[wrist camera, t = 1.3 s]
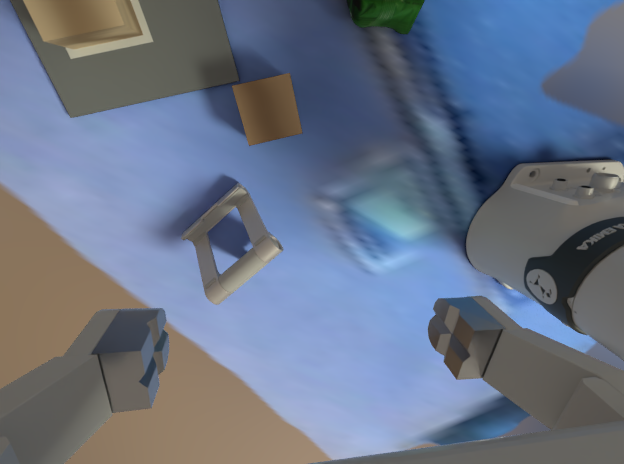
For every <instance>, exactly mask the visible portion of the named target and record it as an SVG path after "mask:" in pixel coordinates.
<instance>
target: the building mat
mask: <svg viewBox="0 0 624 464" xmlns="http://www.w3.org/2000/svg"><path fill="white" fill-rule="evenodd" d="M10 1H11V3H12V5H13V7H14V9H15V11H16V13H17V15H18V17H19V18H20V20H21V22H22V24H23V26H24V28H25V30H26V32H27V34H28V36H29V38H30V40H31V42H32V44H33V46H34V48H35V50H36V51H37V53H38V55H39V57H40V59H41V61H42V63H43V65H44V67H45V69H46V71H47V73H48V75H49V77H50V79H51V81H52V83H53V84H54V86H55V88H56V90H57V92H58V94H59V96H60V98H61V100H62V102H63V104H64V106H65V108H66V110H67V112H68V114H69V116H70V117H71V118H73V117H78V116H83V115H87V114H92V113H96V112H101V111H105V110H110V109H114V108H119V107H124V106H128V105H133V104H137V103H142V102H146V101H151V100H155V99H160V98H164V97H169V96H173V95H178V94H183V93H187V92H192V91H196V90H201V89H205V88H210V87H214V86H219V85H223V84H228V83H233V82H237V81H240V80H239V77H238V73H237V69H236V66H235V62H234V58H233V55H232V51H231V47H230V44H229V40H228V36H227V33H226V29H225V25H224V22H223V18H222V14H221V11H220V7H219V4H218V0H130V1H131V3H132V6H133V9H134V11H135V14H136V17H137V19H138V22H139V25H140V27H141V30H142V33H143V35H141V36H137V37H132V38H127V39H122V40H117V41H112V42H108V43H103V44H98V45H93V46H88V47H84V48H79V49H70V48H66V47H62V46H59V45H55V44H51V43H47V42H44V41H43V39H42V37H41V35H40V33H39V31H38V29H37V27H36V25H35V23H34V21H33V19H32V17H31V15H30V13H29V11H28V9H27V7H26V5H25V3H24V1H23V0H10Z"/></svg>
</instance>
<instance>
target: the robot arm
mask: <svg viewBox="0 0 624 464" xmlns="http://www.w3.org/2000/svg"><path fill="white" fill-rule="evenodd" d="M530 173H531V174H530ZM466 250H467V255H468V258H469V260H470V262H471V264H472V265H473V266H474V267H475V268H476V269H477V270H478V271H480V272H482V273H484V274H486V275H489V276H491V277H493V278H495V279H497V280H498V281H499V283H500V284H501V285H503V286H504V287H506V288H508V289H515V290H516V291H518V292H520V293H521V294H523V295H525V296H526V297H528V298H530V299H531V300H533V301H535V302H536V303H538V304H540V305H542V306H543V307H544V308H545V309H546V310H547V311H548V312H549V313H551V314H552V315H553V316H555V317H556V318H558V319H559V320H560V321H561V322H562V323H563V324H565V325H566V326H568V327H570V328H572V329H573V330H575V331H577V332H578V333H581V334H584V335H589V336H590V337H592V338H593V339H594V340H596V341H597V342H598V343H600V344H601V345H603V346H604V347H605V348H607V349H608V350H609V351H611V352H612V353H614V354H615V355H616V356H618V357H619V358H620V359H622V360H623V361H624V167H623V165H622V163H621V162H618V161H615V160H591V161H568V162H544V163H523V164H519V165H517V166H516V167H515V168H514V169H513V170H512V171H511V173H510V174H509V176H508V177H507V179H506V181H505V182H504V184H503V186H502V187H501V188H500V189H499V190H498V191H497V192H496V193H495V194H493V195H492V196H491V197H490V198H489V199H488V200H487V201H486V202H485V203H484V204H483V205H482V207H481V208H480V209H479V211H478V212H477V213H476V215H475V217H474V219H473V220H472V223H471V225H470V227H469V230H468V234H467V240H466ZM433 310H434V312H435V314H436V315H435V316H434V317H433V318H432V319H431V320H430V322H429V326H428V336H429V340H430V342H431V344H432V346H433V347H434V349H435V350H436V351H437V352H439V353H441V354H442V355H444V363H445V364H446V366H447V367H448V368H449V370H450V371H451V372H452V374H453V375H454V377H455V378H456V379H457V380H460V379H476V378H483V380H484V381H485V382H487V383H488V384H489V385H491V386H492V387H493V388H495V389H496V390H498V391H499V392H500V393H502V394H503V395H504V396H506V397H507V398H508V399H510V400H511V401H513V402H514V403H515V404H517V405H518V406H519V407H521V408H522V409H523V410H525V411H526V412H528V413H529V414H530V415H532V416H533V417H534V418H536V419H537V420H539V421H540V422H541V423H543V424H544V425H545V426H547V427H548V428H550V429H551V430H549V431H542V432H535V433H528V434H520V435H513V436H506V437H499V438H491V439H484V440H477V441H470V442H463V443H456V444H449V445H441V446H434V447H427V448H420V449H412V450H405V451H398V452H391V453H383V454H376V455H369V456H361V457H354V458H347V459H339V460H332V461H325V462H318V463H310V464H624V371H623V370H620V369H618V368H616V367H614V366H611V365H609V364H607V363H605V362H602V361H600V360H598V359H596V358H593V357H591V356H589V355H586V354H584V353H582V352H580V351H577V350H575V349H573V348H571V347H568V346H566V345H564V344H562V343H559V342H557V341H555V340H552V339H550V338H548V337H546V336H543V335H541V334H539V333H537V332H534V331H532V330H530V329H528V328H524V329H523V328H522V327H520V326H519V325H518V324H517V323H516V322H515V321H513V320H512V319H511V318H510V317H509V316H507V315H506V314H505V313H504V312H503V311H502V310H500V309H499V308H498V307H497V306H496V305H495V304H493V303H492V302H491V301H490V300H489V299H487V298H486V297H483V296H470V297H462V298H438V300H437V301H436V302H435V305H434V308H433ZM165 323H166V315H165V310H164V309H163V308H146V309H105V310H100V311H98V312H96V313H95V315H94V316H93V317H92V319H91V320H90V321H89V323H88V324H87V325H86V326H85V328H84V329H83V331H82V332H81V333H80V334H79V336H78V337H77V338H76V340H75V341H74V343H73V344H72V345H71V346H70V348H69V349H68V350H67V352H66V353H65V354H64V356H63V357H55V358H53V359H51V360H49V361H48V362H46V363H45V364H42V365H41V366H39V367H37V368H36V369H34V370H32V371H30V372H29V373H27V374H25V375H24V376H22V377H20V378H18V379H17V380H15V381H13V382H11V383H10V384H8V385H7V386H5V387H3V388H1V389H0V464H64V463H65V462H66V461H67V460H68V459H69V458H70V457H71V456H72V455H73V454H74V453H75V452H76V451H77V450H78V449H79V448H80V447H81V446H82V445H83V444H84V443H85V442H86V441H87V440H88V439H89V438H90V437H91V436H92V435H93V434H94V433H95V432H96V431H97V430H98V429H99V428H100V427H101V426H102V425H103V424H104V423H105V422H106V421H107V420H108V419H109V418H110V417H111V416H112V413H116V412H124V411H132V410H140V409H148V408H152V405H153V402H154V399H155V396H156V393H157V390H158V387H159V378H158V375H159V374H160V373H161V372H163V370H165V366H166V363H167V359H168V353H169V336H168V333H167V332H165V331H164V330H163V328H164V326H165Z"/></svg>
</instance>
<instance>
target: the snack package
mask: <svg viewBox="0 0 624 464" xmlns="http://www.w3.org/2000/svg"><path fill="white" fill-rule="evenodd" d="M424 1H425V0H347V3H348V7H349V10H350V14H351V18H352V20H353V22H354V23H355V24H356V25H357V26H359V27H371V26H380V27H388V28H392V29H394V30H395V31H396V32H398V33H400V34H408V33H409V31H410V29H411V28H412V25H413V23H414V21H415V19H416V17H417V15H418V13H419V11H420V9H421V7H422V5H423V3H424Z"/></svg>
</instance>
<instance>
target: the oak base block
mask: <svg viewBox="0 0 624 464" xmlns="http://www.w3.org/2000/svg"><path fill="white" fill-rule="evenodd" d="M23 1H24V3H25V5H26V7H27V9H28V11H29V13H30V15H31V17H32V19H33V21H34V23H35V25H36V27H37V29H38V31H39V33H40V35H41V37H42V39H43V41H44V42H47V43H51V44H55V45H59V46H62V47H66V48H70V49H79V48H84V47H88V46H93V45H98V44H103V43H108V42H112V41H117V40H122V39H127V38H132V37H137V36H141V35H143V33H142V30H141V27H140V25H139V22H138V19H137V17H136V14H135V11H134V9H133V6H132V3H131V1H130V0H23Z"/></svg>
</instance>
